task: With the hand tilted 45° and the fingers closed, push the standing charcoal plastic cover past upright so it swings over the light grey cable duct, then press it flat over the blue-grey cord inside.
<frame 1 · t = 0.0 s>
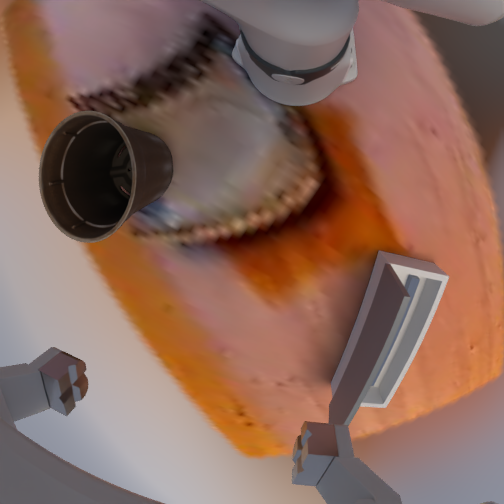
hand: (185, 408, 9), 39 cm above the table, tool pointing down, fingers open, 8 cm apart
plant pot: (140, 167, 47), on the table
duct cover: (361, 366, 39), point 12 cm above the table, hinge at 95.0°
cable duct: (381, 329, 50), on the table
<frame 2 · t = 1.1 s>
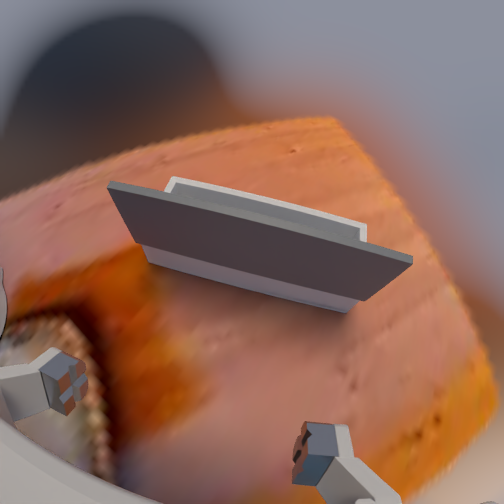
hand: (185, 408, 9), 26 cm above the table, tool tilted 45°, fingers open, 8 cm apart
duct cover: (252, 248, 29), point 12 cm above the table, hinge at 95.0°
cable duct: (255, 254, 43), on the table
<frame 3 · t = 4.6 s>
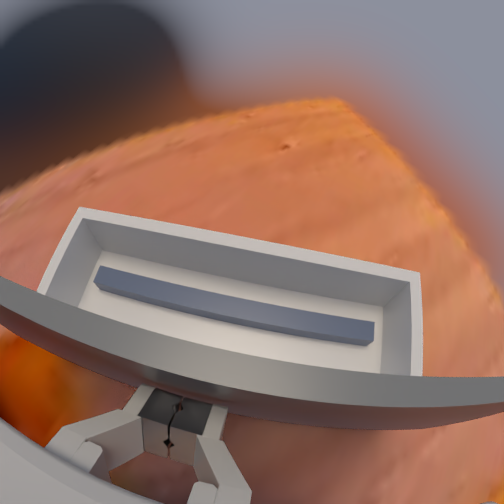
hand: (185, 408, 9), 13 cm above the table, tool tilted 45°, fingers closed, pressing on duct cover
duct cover: (185, 385, 11), point 12 cm above the table, hinge at 87.5°, touching gripper
cable duct: (225, 333, 24), on the table
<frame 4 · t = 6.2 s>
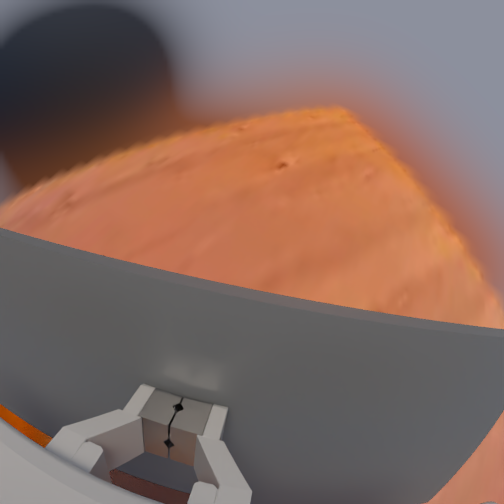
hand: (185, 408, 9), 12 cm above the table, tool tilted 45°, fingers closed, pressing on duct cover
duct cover: (176, 415, 10), point 11 cm above the table, hinge at 45.4°, touching gripper
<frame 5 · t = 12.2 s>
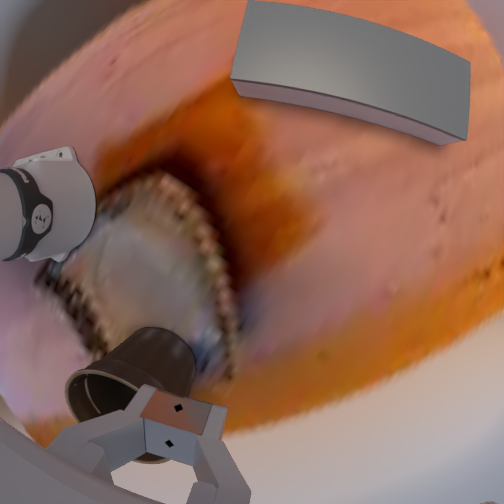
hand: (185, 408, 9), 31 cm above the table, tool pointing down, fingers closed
plant pot: (161, 359, 46), on the table
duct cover: (364, 59, 27), point 7 cm above the table, hinge at 2.5°
cable duct: (352, 79, 33), on the table
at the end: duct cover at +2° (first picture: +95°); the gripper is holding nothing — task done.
